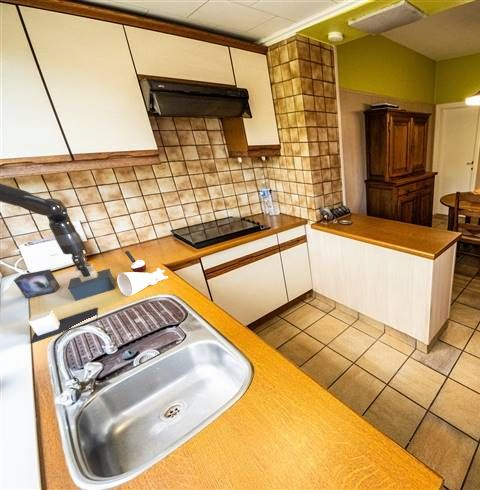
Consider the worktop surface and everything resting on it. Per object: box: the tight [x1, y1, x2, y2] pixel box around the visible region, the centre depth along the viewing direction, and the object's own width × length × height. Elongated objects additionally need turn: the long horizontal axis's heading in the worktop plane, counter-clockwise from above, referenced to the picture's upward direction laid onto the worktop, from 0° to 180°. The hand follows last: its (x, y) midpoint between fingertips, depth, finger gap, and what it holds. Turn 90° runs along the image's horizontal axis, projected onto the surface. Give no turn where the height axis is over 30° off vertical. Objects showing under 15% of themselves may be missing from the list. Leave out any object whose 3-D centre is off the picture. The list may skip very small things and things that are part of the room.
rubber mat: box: [30, 307, 99, 344], centre depth 107 cm, size 18×12×1 cm, turn 132°
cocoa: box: [124, 250, 147, 273], centre depth 146 cm, size 10×6×12 cm, turn 44°
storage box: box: [67, 268, 116, 302], centre depth 130 cm, size 14×12×7 cm
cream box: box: [74, 262, 98, 282], centre depth 128 cm, size 6×5×6 cm
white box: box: [28, 309, 60, 336], centre depth 103 cm, size 6×5×6 cm
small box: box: [13, 268, 61, 299], centre depth 130 cm, size 11×6×10 cm, turn 118°
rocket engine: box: [116, 268, 169, 297], centre depth 132 cm, size 12×12×18 cm
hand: (87, 274), depth 128 cm, fingers closed on cream box, 5 cm apart
